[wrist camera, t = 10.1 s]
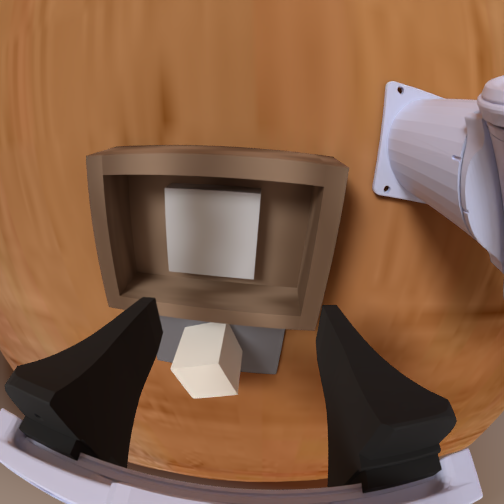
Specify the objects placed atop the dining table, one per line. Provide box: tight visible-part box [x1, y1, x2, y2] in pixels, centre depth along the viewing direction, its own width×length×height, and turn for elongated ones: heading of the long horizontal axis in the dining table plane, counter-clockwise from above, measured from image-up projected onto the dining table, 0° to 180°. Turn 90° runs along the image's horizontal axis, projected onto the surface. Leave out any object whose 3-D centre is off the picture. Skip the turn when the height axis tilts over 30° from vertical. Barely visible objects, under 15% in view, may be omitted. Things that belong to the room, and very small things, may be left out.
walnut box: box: [86, 145, 349, 331], centre depth 19 cm, size 15×11×4 cm
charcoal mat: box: [157, 315, 285, 374], centre depth 25 cm, size 12×8×1 cm, turn 86°
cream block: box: [171, 322, 243, 398], centre depth 23 cm, size 4×4×5 cm
